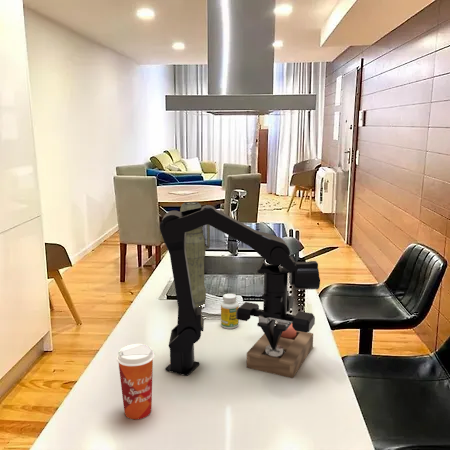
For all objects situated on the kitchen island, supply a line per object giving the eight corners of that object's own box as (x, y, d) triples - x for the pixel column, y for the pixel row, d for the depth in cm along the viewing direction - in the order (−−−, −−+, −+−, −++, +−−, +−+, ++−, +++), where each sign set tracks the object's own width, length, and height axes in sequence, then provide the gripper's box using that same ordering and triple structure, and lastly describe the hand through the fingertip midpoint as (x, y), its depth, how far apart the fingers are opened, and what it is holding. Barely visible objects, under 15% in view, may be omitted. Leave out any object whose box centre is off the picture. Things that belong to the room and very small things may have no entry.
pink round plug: (293, 341, 125) (293, 330, 124) (277, 338, 127) (277, 327, 126) (298, 335, 129) (298, 324, 128) (282, 332, 131) (283, 321, 130)
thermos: (175, 301, 162) (172, 201, 155) (209, 300, 163) (208, 200, 156) (174, 311, 154) (172, 205, 146) (210, 310, 155) (210, 205, 147)
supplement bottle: (229, 320, 147) (229, 291, 145) (242, 325, 143) (242, 295, 141) (217, 325, 143) (217, 295, 141) (229, 331, 139) (229, 300, 137)
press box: (292, 378, 113) (293, 363, 112) (246, 367, 118) (246, 352, 118) (312, 347, 129) (313, 333, 128) (271, 338, 134) (271, 325, 133)
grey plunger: (279, 366, 116) (279, 354, 115) (262, 362, 118) (262, 350, 117) (285, 358, 120) (285, 346, 119) (268, 354, 121) (269, 343, 121)
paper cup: (123, 426, 95) (120, 363, 92) (116, 406, 102) (113, 346, 99) (161, 417, 98) (159, 355, 95) (151, 398, 105) (149, 339, 102)
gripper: (321, 284, 118) (319, 342, 121) (252, 274, 126) (251, 329, 129) (309, 299, 108) (307, 361, 111) (235, 287, 116) (235, 346, 119)
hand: (274, 348), depth 118 cm, fingers closed, pressing on grey plunger
